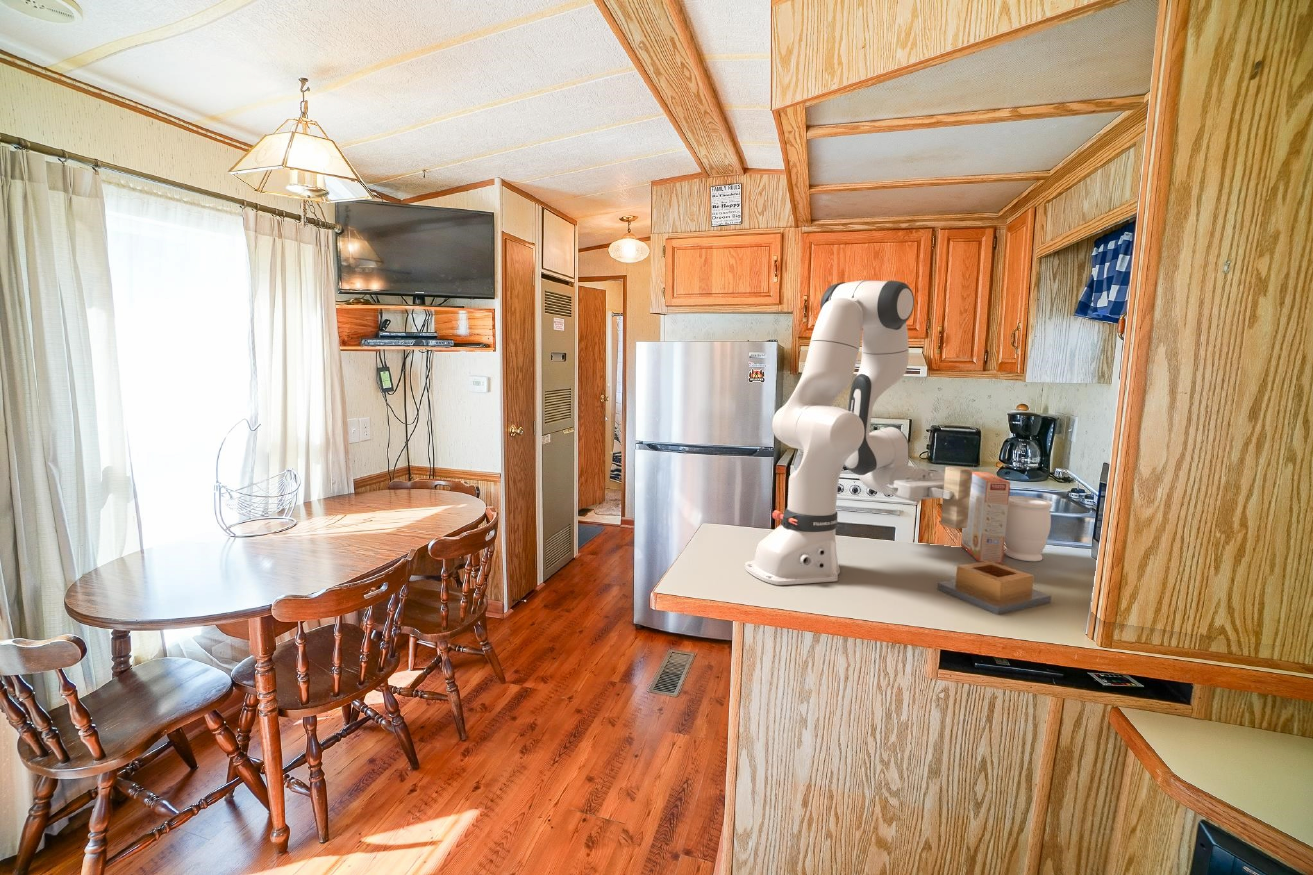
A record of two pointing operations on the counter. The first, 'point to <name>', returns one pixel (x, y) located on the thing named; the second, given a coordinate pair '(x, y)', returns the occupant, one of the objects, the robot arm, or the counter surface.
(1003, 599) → the socket base
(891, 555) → the counter surface
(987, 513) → the cracker box
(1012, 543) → the jar
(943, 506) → the wedge pin
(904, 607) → the counter surface
